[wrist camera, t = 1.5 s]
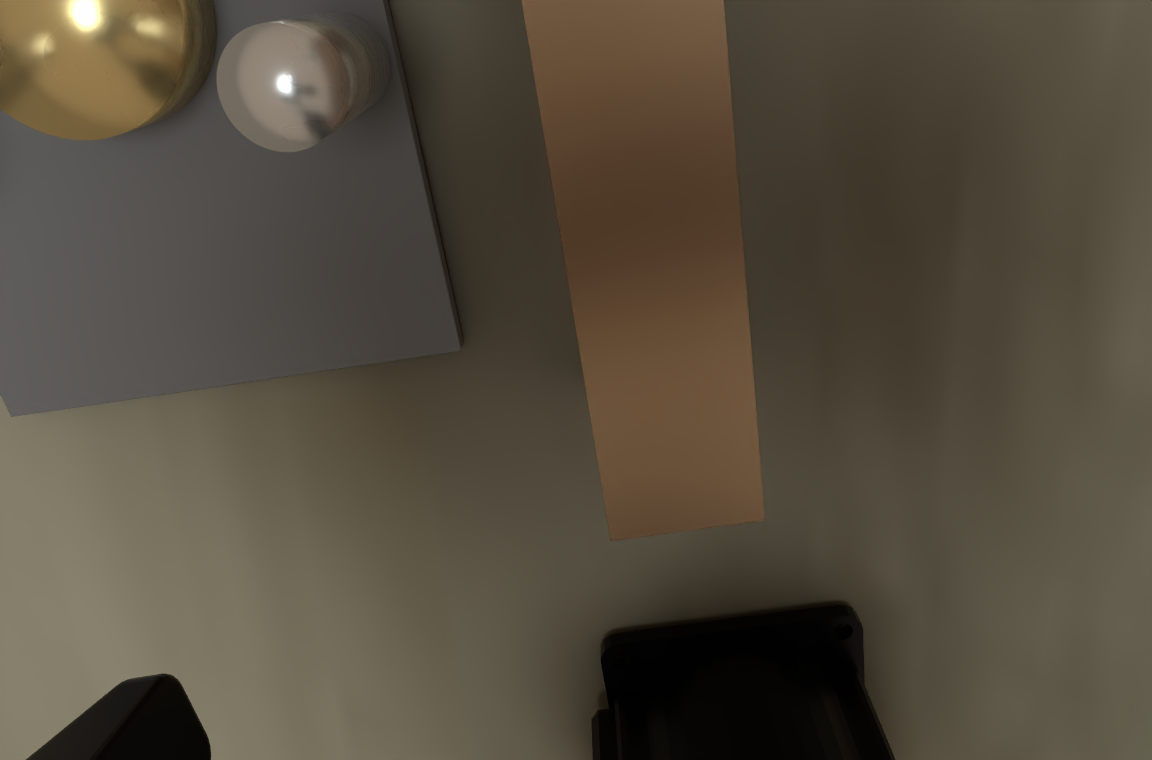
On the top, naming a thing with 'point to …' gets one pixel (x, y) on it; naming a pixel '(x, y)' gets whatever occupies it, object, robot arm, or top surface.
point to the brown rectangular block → (653, 254)
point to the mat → (217, 247)
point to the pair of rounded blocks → (301, 78)
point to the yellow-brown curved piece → (102, 62)
